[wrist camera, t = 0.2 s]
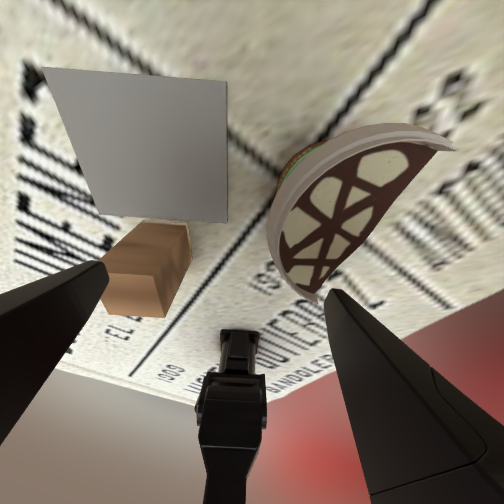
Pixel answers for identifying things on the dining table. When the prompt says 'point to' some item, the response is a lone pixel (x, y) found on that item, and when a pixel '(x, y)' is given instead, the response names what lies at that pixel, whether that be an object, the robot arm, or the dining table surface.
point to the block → (147, 269)
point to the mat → (147, 142)
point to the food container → (341, 197)
